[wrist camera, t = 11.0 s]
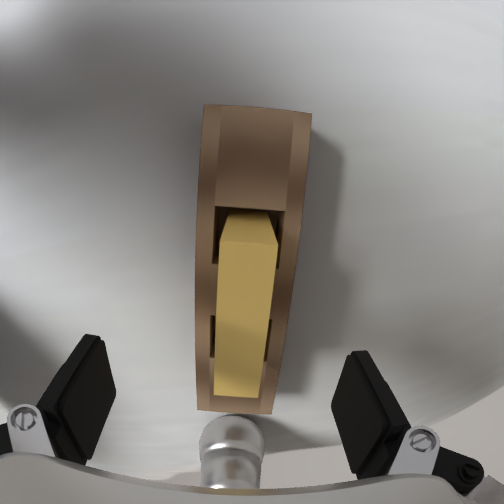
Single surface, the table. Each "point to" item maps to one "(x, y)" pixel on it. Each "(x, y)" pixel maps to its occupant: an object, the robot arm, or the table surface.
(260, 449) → the plastic bottle
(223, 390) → the yellow notched flat block
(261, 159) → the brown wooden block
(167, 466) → the table surface
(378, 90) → the table surface
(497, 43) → the table surface
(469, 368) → the table surface
